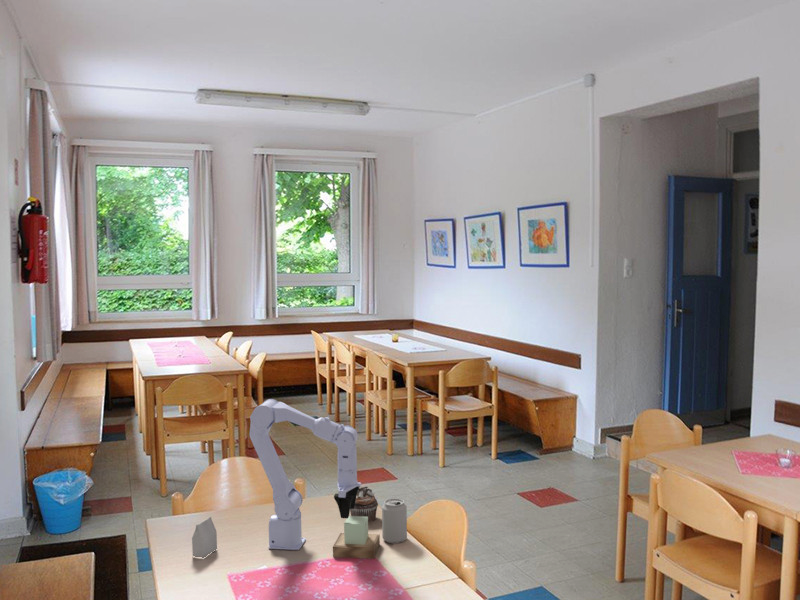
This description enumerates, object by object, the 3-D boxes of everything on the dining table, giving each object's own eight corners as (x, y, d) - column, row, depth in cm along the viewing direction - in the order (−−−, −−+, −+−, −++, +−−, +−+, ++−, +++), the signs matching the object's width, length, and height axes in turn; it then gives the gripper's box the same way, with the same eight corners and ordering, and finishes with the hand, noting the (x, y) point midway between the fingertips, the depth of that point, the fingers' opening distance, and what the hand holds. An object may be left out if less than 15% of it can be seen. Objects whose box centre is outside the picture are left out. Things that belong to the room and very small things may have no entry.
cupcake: (343, 517, 234) (342, 488, 233) (367, 511, 240) (367, 482, 239) (359, 526, 226) (358, 496, 226) (384, 519, 232) (383, 489, 231)
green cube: (344, 543, 205) (344, 523, 205) (348, 535, 211) (348, 516, 211) (364, 544, 205) (364, 524, 204) (368, 536, 211) (367, 516, 210)
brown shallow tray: (332, 556, 204) (332, 546, 204) (340, 542, 214) (340, 532, 214) (373, 558, 202) (373, 548, 202) (379, 544, 212) (379, 534, 212)
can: (404, 545, 211) (403, 506, 210) (380, 543, 213) (379, 504, 212) (409, 535, 219) (408, 497, 218) (385, 534, 220) (384, 496, 219)
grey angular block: (217, 550, 210) (216, 517, 209) (203, 559, 204) (202, 525, 203) (206, 548, 211) (205, 516, 211) (192, 557, 205) (191, 524, 204)
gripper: (355, 476, 202) (355, 523, 203) (365, 461, 216) (365, 505, 217) (331, 475, 203) (331, 521, 204) (342, 460, 217) (343, 503, 218)
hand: (347, 513), depth 210 cm, fingers open, 7 cm apart
